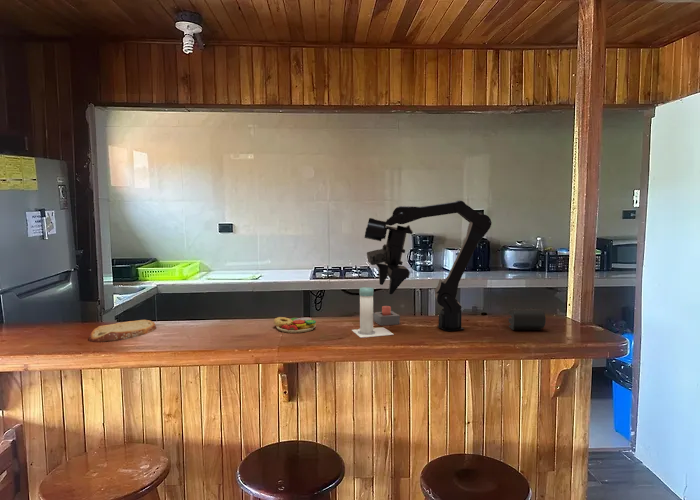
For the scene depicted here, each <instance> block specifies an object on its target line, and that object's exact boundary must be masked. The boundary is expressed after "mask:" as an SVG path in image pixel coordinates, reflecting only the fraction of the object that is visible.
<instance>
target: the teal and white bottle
mask: <svg viewBox="0 0 700 500" xmlns="http://www.w3.org/2000/svg"><path fill="white" fill-rule="evenodd" d="M374 290H375V289H374V287H370V286H369V287H368V286H367V287H365V286H363V287H360V288H359V329H360V333H362V334H371V333H373V328H374V321H373V312H374Z"/></svg>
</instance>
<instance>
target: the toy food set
mask: <svg viewBox="0 0 700 500" xmlns="http://www.w3.org/2000/svg"><path fill="white" fill-rule="evenodd" d="M273 324H274V326H276V329H277V330H278V331H280V332H283V333H288V334H290V333H291V334H301V333H307V332H310V331H313V330H314V329H315V328H316V326H317V325H316V324H317V322H316V320H314V319H313V318H312V317H308V316H307V317H300V318H298V317H292V318H288V317H286V316H285V317H283V316H278V317H275V318H274V319H273Z"/></svg>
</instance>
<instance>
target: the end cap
mask: <svg viewBox="0 0 700 500" xmlns="http://www.w3.org/2000/svg"><path fill="white" fill-rule="evenodd" d="M508 315H509V316H510V317H509V318H508V323H509V324H508V327H509V328H510V329H511V330H512V331H518V330H519V331H541V330H543V329H544V328H545V326H546V324H547V323H546V319H547V318H546V313H545V311H544V310H543V309H539V308H538V309H536V308H530V307H529V308H526V309H520V308H514V307H513V308H509V310H508Z"/></svg>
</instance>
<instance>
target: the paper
mask: <svg viewBox="0 0 700 500" xmlns="http://www.w3.org/2000/svg"><path fill="white" fill-rule="evenodd" d="M351 331H352V332H353V333H354V334H355V335H356V336H358V337H359V338H361V339H363V338H372V337H374V338H375V337H384V336H385V337H386V336H394V335H395V334H394V333H392V332H391V331H390V330H389V329H387V328H385V327H373V333H371V334H362V333H360V328H358V329H351Z"/></svg>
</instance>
